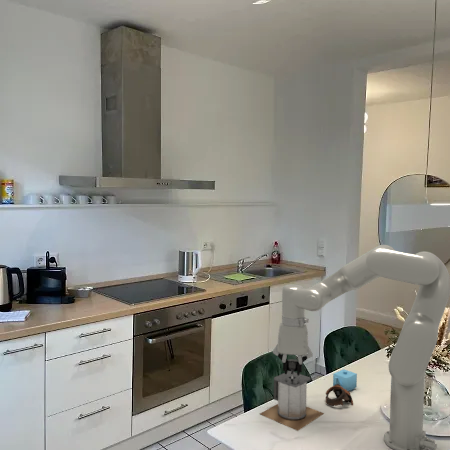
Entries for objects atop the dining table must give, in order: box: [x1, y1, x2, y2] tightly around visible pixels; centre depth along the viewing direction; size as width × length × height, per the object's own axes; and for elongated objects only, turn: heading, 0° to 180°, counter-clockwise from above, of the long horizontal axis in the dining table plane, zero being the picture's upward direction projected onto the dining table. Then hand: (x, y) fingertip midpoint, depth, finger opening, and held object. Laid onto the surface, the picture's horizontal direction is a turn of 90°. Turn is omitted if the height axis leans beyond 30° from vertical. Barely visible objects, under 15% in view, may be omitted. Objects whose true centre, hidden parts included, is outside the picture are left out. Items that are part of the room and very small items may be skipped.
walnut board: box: [259, 403, 325, 432], centre depth 155 cm, size 16×16×1 cm
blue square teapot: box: [332, 369, 358, 392], centre depth 177 cm, size 12×6×8 cm, turn 131°
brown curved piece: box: [325, 384, 354, 407], centre depth 165 cm, size 12×10×8 cm
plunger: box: [287, 358, 298, 379], centre depth 155 cm, size 7×7×16 cm
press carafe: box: [273, 371, 311, 421], centre depth 156 cm, size 12×10×13 cm
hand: (292, 373), depth 154 cm, fingers closed on plunger, 3 cm apart
